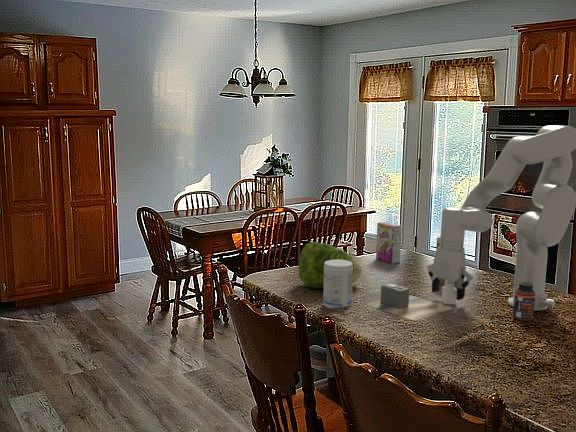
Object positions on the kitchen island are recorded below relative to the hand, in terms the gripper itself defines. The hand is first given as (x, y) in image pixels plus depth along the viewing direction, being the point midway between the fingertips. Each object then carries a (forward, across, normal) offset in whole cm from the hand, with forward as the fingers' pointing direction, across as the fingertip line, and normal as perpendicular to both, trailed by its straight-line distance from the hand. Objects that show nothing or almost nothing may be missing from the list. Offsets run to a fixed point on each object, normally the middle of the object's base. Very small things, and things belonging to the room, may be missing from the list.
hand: (447, 295), depth 193 cm
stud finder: (+3, -9, -16) cm, 19 cm away
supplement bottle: (+3, +22, +8) cm, 24 cm away
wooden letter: (+4, -16, +22) cm, 28 cm away
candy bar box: (+4, -54, +32) cm, 63 cm away
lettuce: (+4, -40, -16) cm, 43 cm away
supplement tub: (+4, -22, -30) cm, 37 cm away
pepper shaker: (+4, 0, 0) cm, 4 cm away
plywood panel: (+4, -5, -14) cm, 15 cm away
